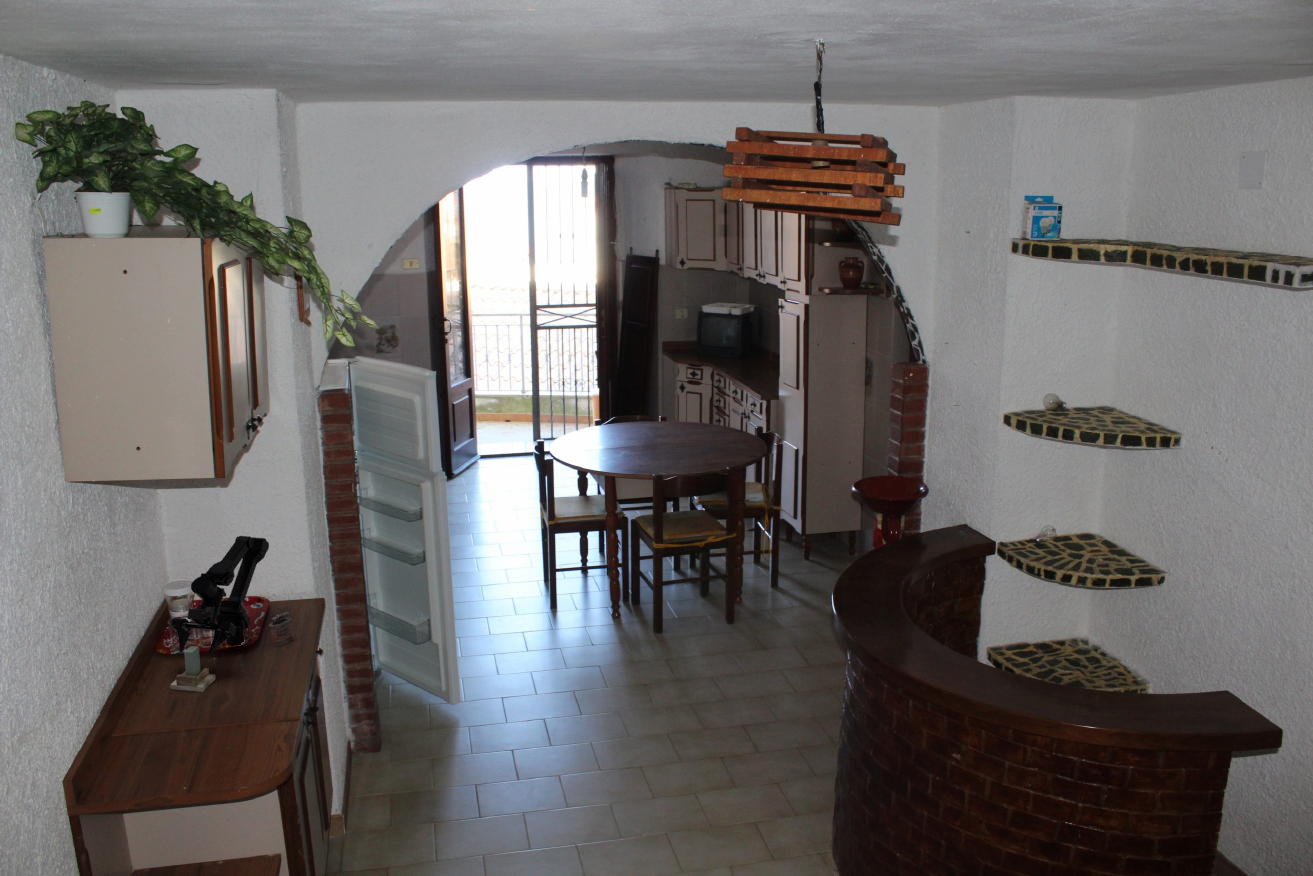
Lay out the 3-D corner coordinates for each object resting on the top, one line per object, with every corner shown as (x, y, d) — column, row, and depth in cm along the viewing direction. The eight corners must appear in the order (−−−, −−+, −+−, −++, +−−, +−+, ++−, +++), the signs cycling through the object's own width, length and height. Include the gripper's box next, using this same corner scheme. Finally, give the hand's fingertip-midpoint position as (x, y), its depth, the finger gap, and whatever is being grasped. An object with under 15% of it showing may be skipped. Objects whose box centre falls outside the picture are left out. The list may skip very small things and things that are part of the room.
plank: (193, 675, 312) (191, 646, 309) (200, 676, 312) (198, 646, 309) (186, 681, 308) (184, 652, 305) (194, 682, 308) (191, 652, 305)
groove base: (184, 676, 314) (183, 663, 313) (215, 679, 313) (214, 665, 312) (170, 689, 306) (169, 675, 305) (202, 691, 306) (201, 678, 305)
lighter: (274, 648, 335) (272, 620, 332) (267, 645, 337) (266, 617, 334) (294, 639, 341) (293, 612, 339) (288, 636, 343) (286, 609, 341)
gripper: (170, 593, 311) (154, 642, 303) (229, 598, 310) (214, 647, 302) (185, 606, 321) (170, 654, 313) (243, 610, 320) (228, 658, 312)
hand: (195, 653), depth 310 cm, fingers open, 9 cm apart
